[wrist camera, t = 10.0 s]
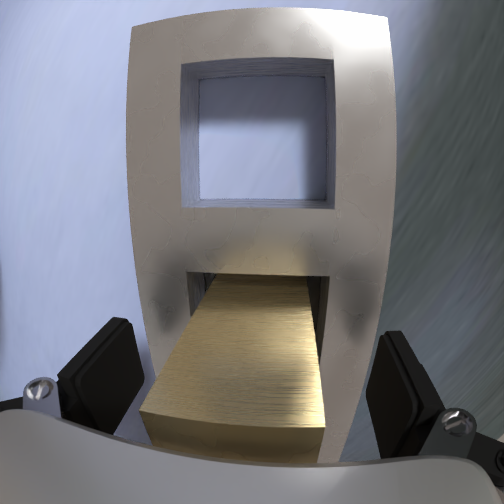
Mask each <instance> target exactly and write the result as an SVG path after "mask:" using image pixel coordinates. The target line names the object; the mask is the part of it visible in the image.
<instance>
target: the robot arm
mask: <svg viewBox="0 0 504 504" xmlns="http://www.w3.org/2000/svg"><path fill="white" fill-rule="evenodd" d="M57 376H58V378H59V380H58V381H57V382H55V381H54V380H53V379H51V378H48V377H40V378H36V379H34V380H32V381H30V382H29V383H28V384H27V385H26V386H25V388H24V391H23V397H19V398H15V399H11V400H6V401H2V402H0V504H504V443H502V442H500V441H497V440H495V439H492V438H490V437H487V436H485V435H482V434H480V433H478V432H476V428H477V424H476V420H475V418H474V417H473V415H471V414H470V413H469V412H468V411H466V410H464V409H460V408H449V409H445V407H444V405H443V403H442V401H441V399H440V397H439V395H438V393H437V391H436V389H435V387H434V385H433V384H432V382H431V380H430V378H429V376H428V374H427V372H426V371H425V369H424V367H423V366H422V364H420V363H419V361H418V359H417V357H416V356H415V354H414V352H413V350H412V349H411V347H410V345H409V343H408V342H407V340H406V338H405V336H404V335H403V333H402V332H401V331H386V332H385V334H384V335H381V336H380V338H379V342H378V347H377V351H376V355H375V359H374V363H373V367H372V371H371V374H370V378H369V382H368V385H367V389H366V400H367V404H368V407H369V411H370V415H371V419H372V423H373V427H374V431H375V435H376V440H377V444H378V448H379V453H380V457H381V459H377V460H367V461H354V462H336V463H272V462H256V461H243V460H233V459H224V458H217V457H209V456H203V455H196V454H190V453H185V452H180V451H174V450H169V449H165V448H160V447H156V446H151V445H147V444H143V443H139V442H135V441H131V440H128V439H124V438H121V437H117V436H114V435H113V434H114V432H115V430H116V429H117V427H118V425H119V424H120V422H121V420H122V418H123V417H124V415H125V413H126V412H127V410H128V408H129V407H130V405H131V403H132V402H133V400H134V398H135V397H136V395H137V393H138V392H139V390H140V388H141V387H142V385H143V383H144V373H143V369H142V365H141V361H140V357H139V352H138V348H137V344H136V339H135V335H134V330H133V326H132V324H131V323H129V321H128V320H127V319H125V318H118V317H113V318H111V319H110V320H109V321H108V322H107V323H106V324H105V325H104V326H103V327H102V328H101V329H100V330H99V332H98V333H97V334H96V335H95V336H94V337H93V338H92V339H91V340H90V341H89V342H88V343H87V344H86V345H85V346H84V347H83V348H82V349H81V350H80V351H79V352H78V353H77V354H76V355H75V356H74V357H73V358H72V359H71V360H70V361H69V362H68V363H67V365H66V366H65V367H64V368H63V369H62V370H61V371H60V372H59V373H58V374H57Z"/></svg>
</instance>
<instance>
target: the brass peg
mask: <svg viewBox="0 0 504 504" xmlns="http://www.w3.org/2000/svg"><path fill="white" fill-rule="evenodd" d="M139 412H140V415H141V417H142V420H143V423H144V425H145V428H146V430H147V433H148V435H149V437H150V440H151V442H152V445H153V446H156V447H160V448H165V449H169V450H174V451H180V452H185V453H190V454H196V455H203V456H209V457H217V458H224V459H233V460H243V461H256V462H272V463H317V460H318V456H319V452H320V448H321V444H322V440H323V435H324V431H325V418H324V408H323V398H322V389H321V380H320V372H319V364H318V356H317V348H316V341H315V333H314V326H313V319H312V312H311V305H310V299H309V292H308V286H307V279H306V276H295V275H261V274H232V273H217V275H216V276H215V278H214V280H213V281H212V283H211V285H210V287H209V288H208V290H207V292H206V293H205V295H204V297H203V299H202V300H201V302H200V304H199V305H198V307H197V309H196V311H195V312H194V314H193V316H192V317H191V319H190V321H189V323H188V324H187V326H186V328H185V330H184V331H183V333H182V335H181V337H180V338H179V340H178V342H177V343H176V345H175V347H174V349H173V350H172V352H171V354H170V356H169V358H168V359H167V361H166V363H165V365H164V366H163V368H162V370H161V372H160V373H159V375H158V377H157V379H156V380H155V382H154V384H153V386H152V388H151V389H150V391H149V393H148V395H147V397H146V398H145V400H144V402H143V404H142V406H141V407H140V409H139Z"/></svg>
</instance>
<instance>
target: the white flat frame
mask: <svg viewBox="0 0 504 504" xmlns="http://www.w3.org/2000/svg"><path fill="white" fill-rule="evenodd" d="M239 76H314V77H325V83H326V123H327V161H326V200H297V199H200V177H199V80H200V79H210V78H222V77H239ZM126 157H127V182H128V199H129V213H130V224H131V234H132V244H133V253H134V261H135V269H136V276H137V283H138V289H139V296H140V302H141V308H142V314H143V319H144V325H145V330H146V335H147V340H148V345H149V350H150V354H151V359H152V363H153V368H154V372H155V376H156V379H157V377H158V375H159V373H160V372H161V370H162V368H163V366H164V365H165V363H166V361H167V359H168V358H169V356H170V354H171V352H172V350H173V349H174V347H175V345H176V343H177V342H178V340H179V338H180V337H181V335H182V333H183V331H184V330H185V328H186V326H187V324H188V323H189V321H190V319H191V317H192V316H193V314H194V312H195V311H196V309H197V307H198V305H199V304H200V302H201V300H202V299H203V297H204V295H205V284H204V272H207V273H232V274H261V275H295V276H321V286H320V297H319V308H318V318H317V328H316V337H315V341H316V348H317V356H318V364H319V372H320V380H321V389H322V398H323V408H324V418H325V431H324V435H323V440H322V444H321V448H320V452H319V456H318V460H317V463H336V462H338V461H339V458H340V455H341V453H342V450H343V447H344V445H345V442H346V439H347V436H348V433H349V430H350V427H351V424H352V421H353V418H354V415H355V412H356V408H357V405H358V402H359V398H360V395H361V391H362V388H363V384H364V381H365V377H366V373H367V369H368V365H369V361H370V357H371V353H372V349H373V344H374V340H375V335H376V330H377V326H378V321H379V316H380V310H381V305H382V299H383V293H384V287H385V281H386V274H387V267H388V260H389V252H390V244H391V235H392V224H393V213H394V199H395V181H396V101H395V84H394V71H393V60H392V51H391V43H390V35H389V28H388V21H387V18H385V17H380V16H374V15H368V14H362V13H355V12H347V11H338V10H327V9H314V8H246V9H232V10H222V11H213V12H205V13H198V14H191V15H185V16H179V17H174V18H169V19H164V20H159V21H154V22H150V23H146V24H142V25H138V26H134V27H132V31H131V41H130V51H129V64H128V79H127V104H126Z"/></svg>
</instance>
